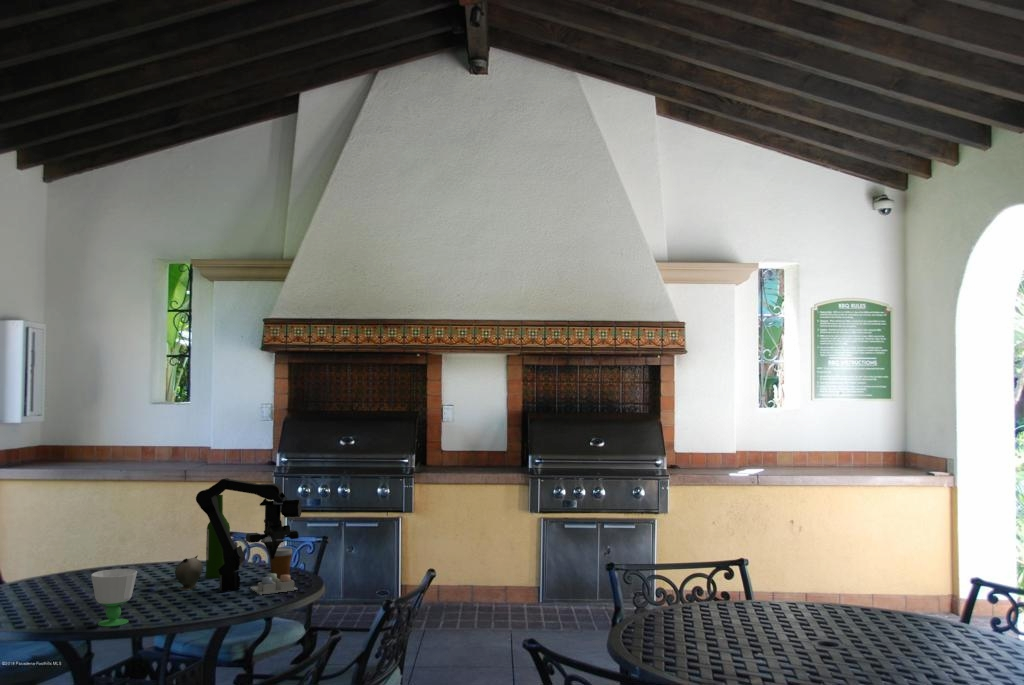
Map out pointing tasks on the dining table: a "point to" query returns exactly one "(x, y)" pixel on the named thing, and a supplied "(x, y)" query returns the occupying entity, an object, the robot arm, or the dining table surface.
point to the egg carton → (274, 587)
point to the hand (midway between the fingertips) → (272, 559)
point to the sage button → (273, 575)
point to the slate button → (266, 580)
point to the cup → (113, 592)
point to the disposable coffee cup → (281, 561)
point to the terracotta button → (285, 578)
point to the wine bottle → (214, 546)
